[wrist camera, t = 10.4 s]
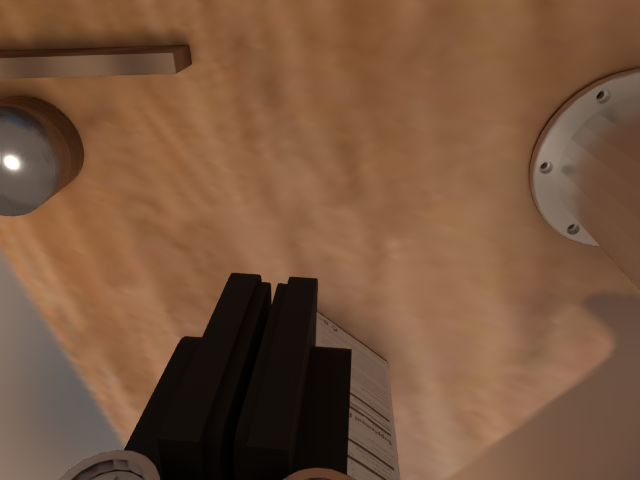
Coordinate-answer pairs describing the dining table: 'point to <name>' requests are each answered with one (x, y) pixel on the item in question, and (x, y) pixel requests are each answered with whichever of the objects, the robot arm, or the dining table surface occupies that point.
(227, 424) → the robot arm
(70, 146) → the metal tin
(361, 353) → the supplement box
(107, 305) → the dining table surface
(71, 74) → the wooden tray
